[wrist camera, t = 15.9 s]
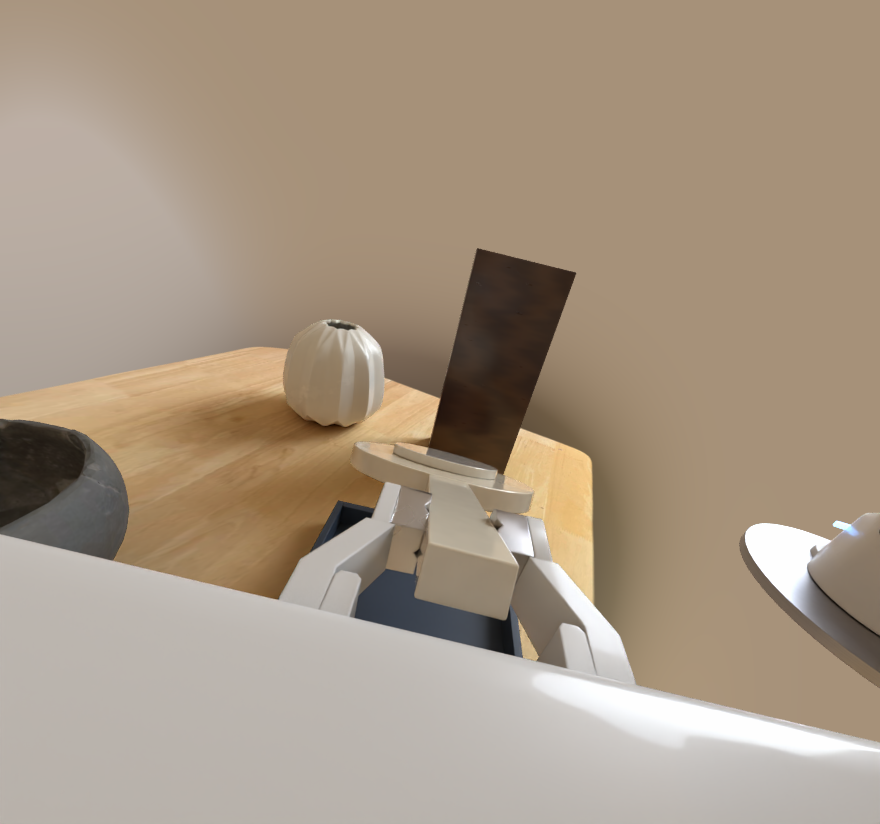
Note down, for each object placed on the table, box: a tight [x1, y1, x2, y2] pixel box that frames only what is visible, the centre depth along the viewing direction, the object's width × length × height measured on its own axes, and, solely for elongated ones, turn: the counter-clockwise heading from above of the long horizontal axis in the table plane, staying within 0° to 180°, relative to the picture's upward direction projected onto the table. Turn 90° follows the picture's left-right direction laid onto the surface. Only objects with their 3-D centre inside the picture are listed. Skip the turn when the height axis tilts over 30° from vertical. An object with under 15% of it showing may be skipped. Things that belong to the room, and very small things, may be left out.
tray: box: [310, 501, 523, 658], centre depth 26 cm, size 16×15×3 cm
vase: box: [283, 319, 384, 427], centre depth 49 cm, size 14×14×13 cm
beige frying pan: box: [350, 442, 534, 620], centre depth 18 cm, size 12×22×2 cm, turn 175°
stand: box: [428, 248, 576, 475], centre depth 43 cm, size 10×8×26 cm
